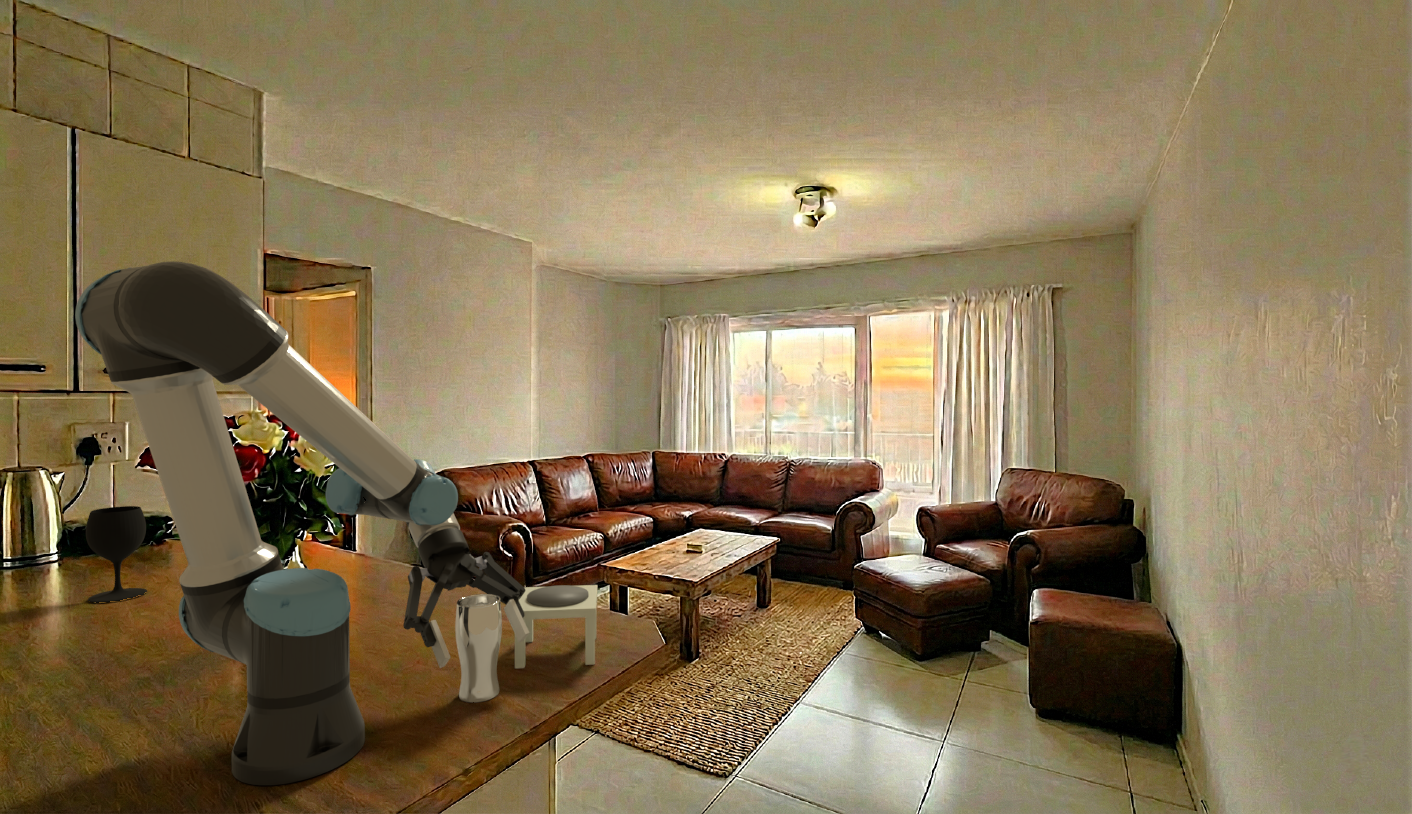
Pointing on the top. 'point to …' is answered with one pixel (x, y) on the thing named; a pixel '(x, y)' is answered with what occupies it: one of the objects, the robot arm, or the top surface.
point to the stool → (559, 613)
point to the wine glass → (116, 543)
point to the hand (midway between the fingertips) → (486, 649)
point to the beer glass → (478, 645)
